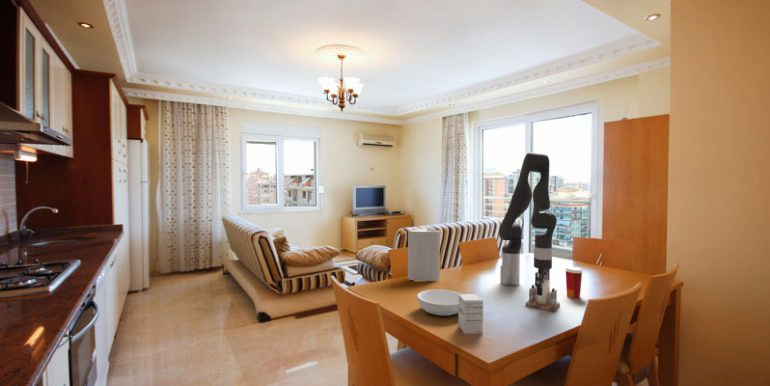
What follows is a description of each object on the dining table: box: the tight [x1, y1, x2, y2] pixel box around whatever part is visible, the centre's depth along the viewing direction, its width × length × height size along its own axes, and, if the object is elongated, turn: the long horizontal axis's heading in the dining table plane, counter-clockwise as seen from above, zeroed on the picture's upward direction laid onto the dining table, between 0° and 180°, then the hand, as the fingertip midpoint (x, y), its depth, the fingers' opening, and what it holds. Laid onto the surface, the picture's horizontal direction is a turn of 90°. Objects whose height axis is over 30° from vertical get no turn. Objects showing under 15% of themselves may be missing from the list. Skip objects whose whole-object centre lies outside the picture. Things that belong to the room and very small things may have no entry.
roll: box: [536, 279, 551, 305], centre depth 164 cm, size 6×6×10 cm
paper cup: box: [564, 266, 584, 300], centre depth 177 cm, size 8×8×14 cm
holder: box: [525, 284, 561, 313], centre depth 164 cm, size 12×10×9 cm
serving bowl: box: [417, 288, 463, 317], centre depth 156 cm, size 21×21×7 cm
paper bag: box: [407, 227, 441, 282], centre depth 210 cm, size 19×15×28 cm
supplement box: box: [457, 293, 484, 335], centre depth 137 cm, size 7×7×13 cm
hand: (542, 292), depth 164 cm, fingers open, 8 cm apart
